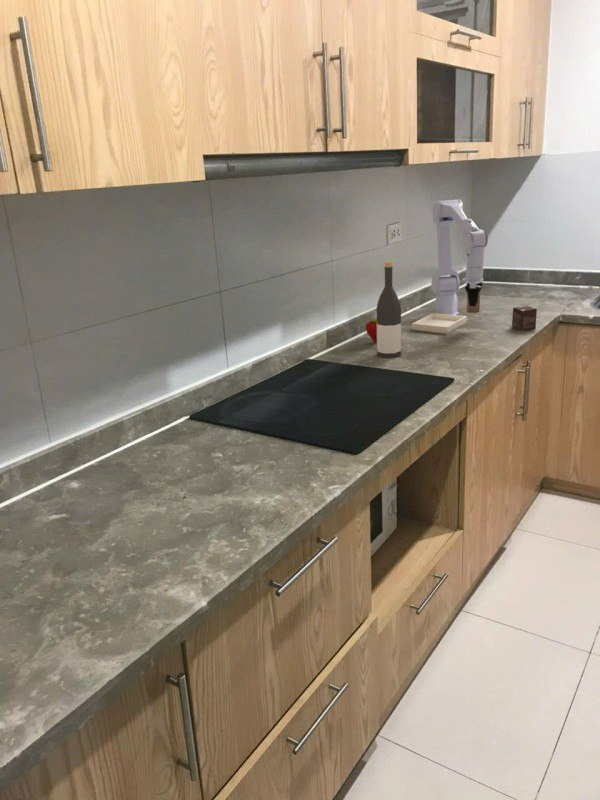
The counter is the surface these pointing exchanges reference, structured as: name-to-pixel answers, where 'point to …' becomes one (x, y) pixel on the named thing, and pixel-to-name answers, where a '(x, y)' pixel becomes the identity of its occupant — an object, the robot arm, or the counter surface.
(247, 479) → the counter surface
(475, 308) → the shaker
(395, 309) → the wine bottle
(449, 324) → the tray
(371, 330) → the strawberry
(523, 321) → the box
